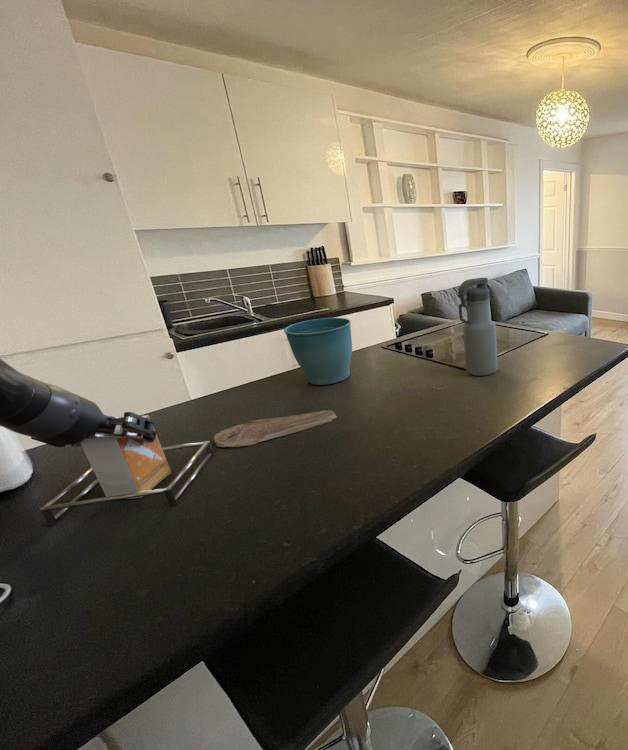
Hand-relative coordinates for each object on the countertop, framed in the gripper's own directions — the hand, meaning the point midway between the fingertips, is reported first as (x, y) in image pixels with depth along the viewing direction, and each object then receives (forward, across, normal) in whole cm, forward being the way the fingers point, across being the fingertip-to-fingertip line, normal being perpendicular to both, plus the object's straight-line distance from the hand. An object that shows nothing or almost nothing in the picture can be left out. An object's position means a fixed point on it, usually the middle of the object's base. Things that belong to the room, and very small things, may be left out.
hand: (126, 440), depth 75 cm
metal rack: (+6, 0, +7) cm, 9 cm away
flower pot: (+39, -27, -26) cm, 54 cm away
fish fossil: (+18, -20, -4) cm, 27 cm away
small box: (+6, 0, +8) cm, 10 cm away
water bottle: (+33, -73, -19) cm, 82 cm away
